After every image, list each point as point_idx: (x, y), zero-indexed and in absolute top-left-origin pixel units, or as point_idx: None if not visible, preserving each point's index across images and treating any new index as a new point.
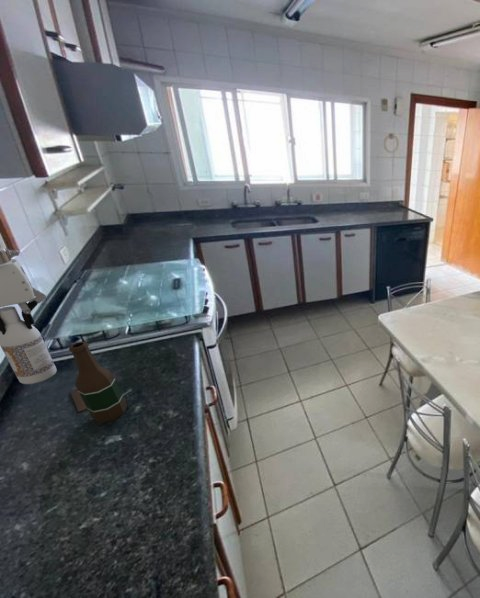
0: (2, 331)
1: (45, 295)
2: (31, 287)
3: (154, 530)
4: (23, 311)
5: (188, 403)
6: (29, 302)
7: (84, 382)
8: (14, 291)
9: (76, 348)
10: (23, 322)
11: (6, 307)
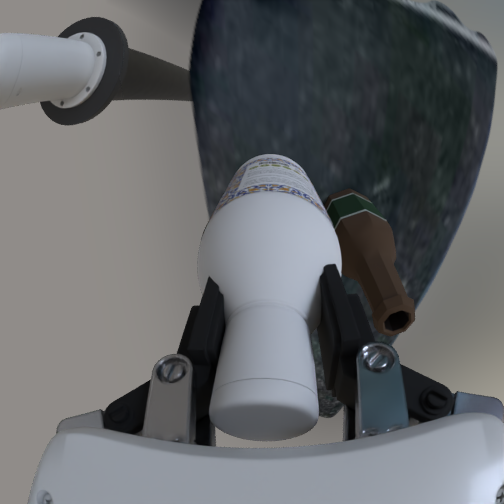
0: None
1: (501, 410)
2: None
3: (324, 393)
4: (345, 415)
5: (425, 279)
6: (412, 414)
7: (349, 277)
8: None
9: (387, 334)
10: (313, 329)
11: (265, 414)
